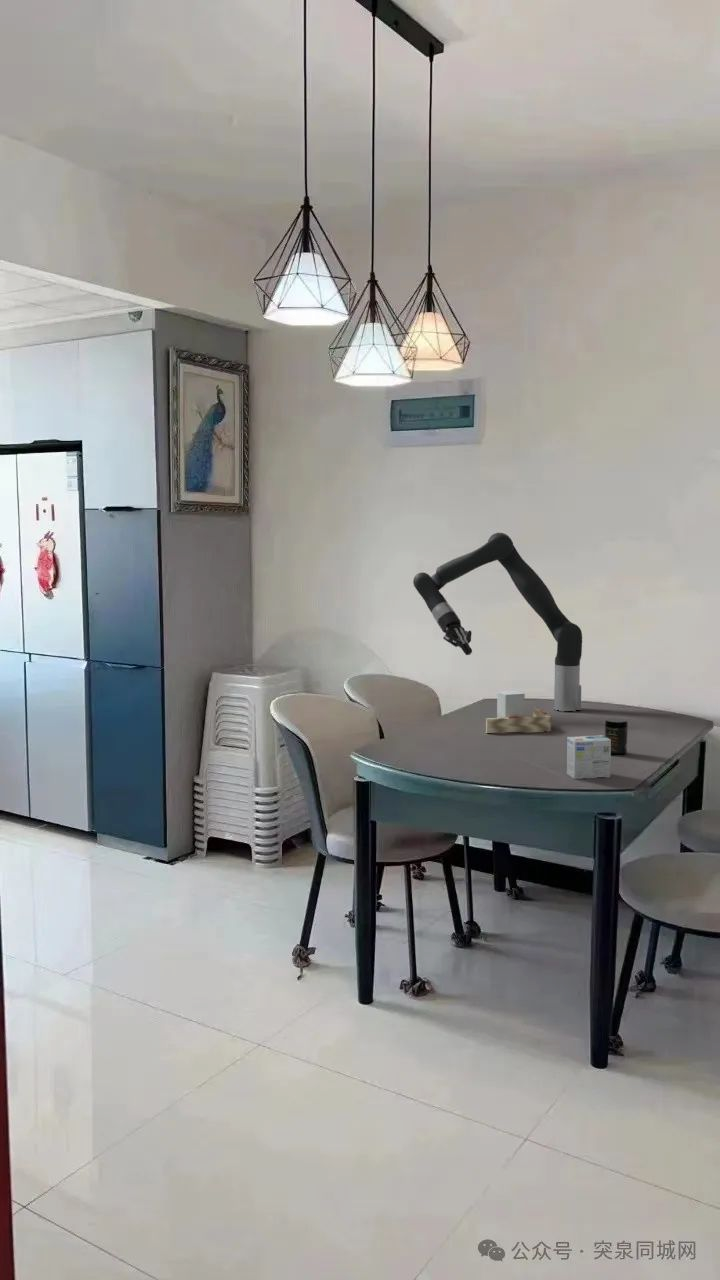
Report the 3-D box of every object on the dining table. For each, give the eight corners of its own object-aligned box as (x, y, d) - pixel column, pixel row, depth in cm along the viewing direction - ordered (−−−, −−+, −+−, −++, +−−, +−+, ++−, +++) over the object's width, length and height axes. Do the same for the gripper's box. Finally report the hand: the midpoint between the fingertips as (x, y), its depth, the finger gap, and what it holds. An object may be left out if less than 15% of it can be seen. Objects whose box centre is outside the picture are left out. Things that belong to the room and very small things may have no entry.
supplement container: (627, 756, 294) (627, 722, 293) (603, 755, 296) (604, 721, 295) (627, 751, 301) (628, 718, 300) (604, 750, 303) (605, 717, 301)
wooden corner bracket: (536, 721, 347) (536, 706, 347) (551, 731, 331) (552, 715, 330) (474, 724, 344) (474, 708, 344) (486, 733, 328) (487, 717, 327)
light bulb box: (601, 771, 276) (602, 734, 275) (611, 777, 270) (612, 739, 269) (565, 773, 275) (566, 736, 274) (574, 779, 268) (575, 741, 267)
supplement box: (525, 730, 334) (525, 693, 332) (504, 731, 332) (505, 694, 330) (516, 726, 341) (516, 690, 339) (496, 727, 339) (496, 691, 337)
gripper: (437, 611, 352) (461, 648, 344) (463, 609, 360) (488, 645, 352) (427, 625, 357) (451, 662, 349) (454, 622, 365) (477, 658, 357)
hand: (469, 653), depth 350 cm, fingers closed
